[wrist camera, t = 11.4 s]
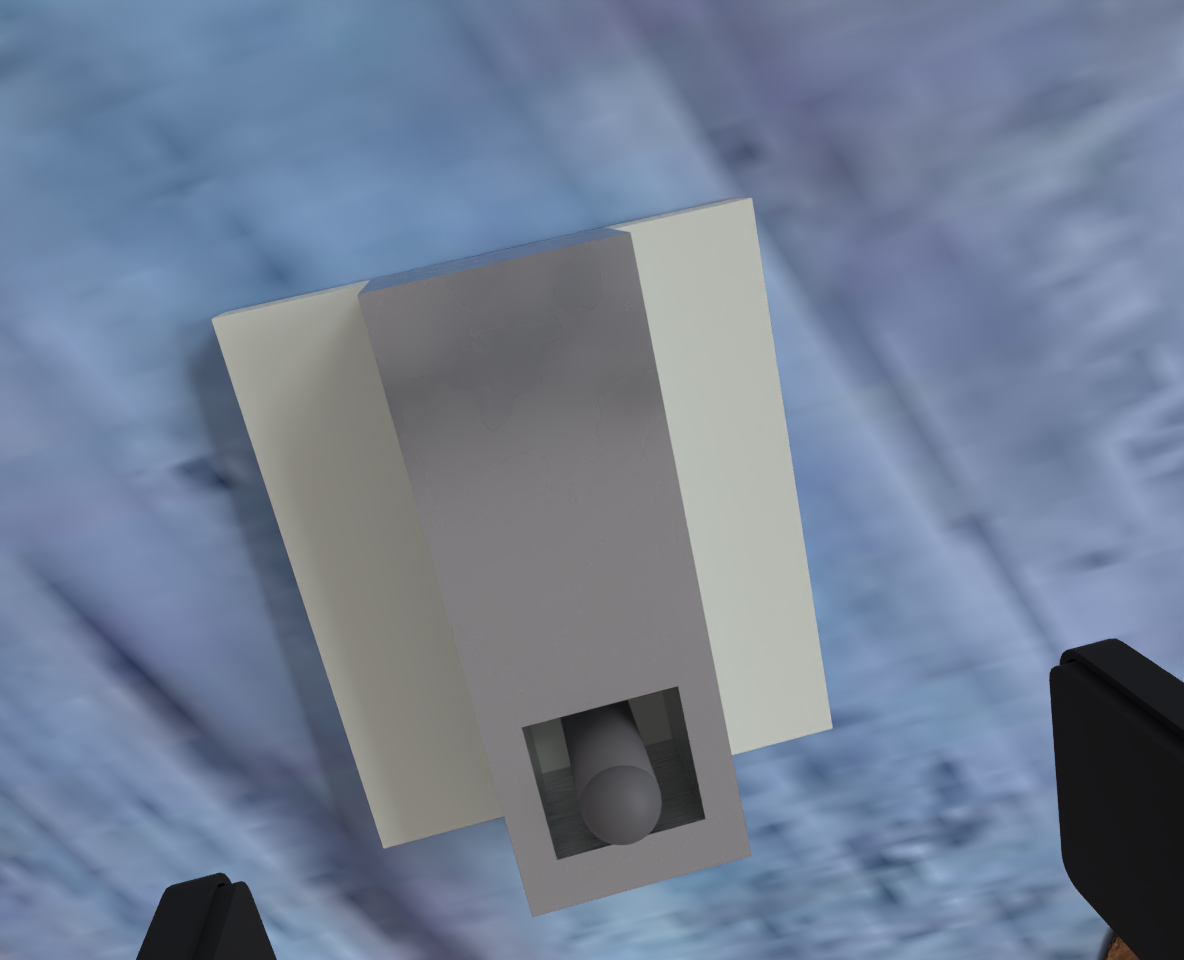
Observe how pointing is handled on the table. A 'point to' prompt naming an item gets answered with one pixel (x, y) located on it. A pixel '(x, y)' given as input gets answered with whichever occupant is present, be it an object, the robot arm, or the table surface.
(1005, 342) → the table surface
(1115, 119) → the table surface
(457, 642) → the link plate
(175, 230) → the table surface
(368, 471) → the board
